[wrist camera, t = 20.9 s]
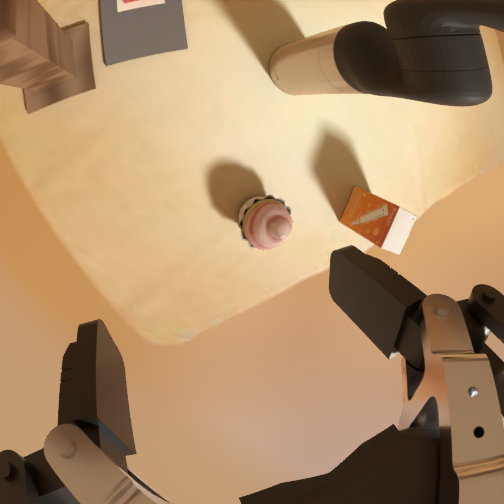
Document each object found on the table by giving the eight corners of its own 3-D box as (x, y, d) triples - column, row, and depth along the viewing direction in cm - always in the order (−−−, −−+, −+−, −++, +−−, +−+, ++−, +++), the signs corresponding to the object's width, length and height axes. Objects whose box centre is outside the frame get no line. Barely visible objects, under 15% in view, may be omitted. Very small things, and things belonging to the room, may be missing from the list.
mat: (177, -34, 27) (177, -35, 26) (187, 48, 35) (187, 47, 34) (99, -19, 24) (99, -21, 23) (106, 66, 32) (105, 65, 31)
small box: (353, 185, 56) (400, 205, 45) (372, 195, 59) (417, 216, 48) (337, 222, 58) (381, 248, 47) (358, 229, 61) (400, 255, 50)
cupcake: (218, 225, 49) (237, 250, 41) (249, 177, 47) (275, 192, 39) (260, 247, 54) (285, 274, 46) (289, 204, 52) (320, 224, 44)
